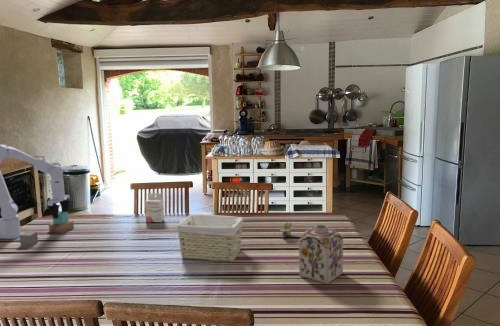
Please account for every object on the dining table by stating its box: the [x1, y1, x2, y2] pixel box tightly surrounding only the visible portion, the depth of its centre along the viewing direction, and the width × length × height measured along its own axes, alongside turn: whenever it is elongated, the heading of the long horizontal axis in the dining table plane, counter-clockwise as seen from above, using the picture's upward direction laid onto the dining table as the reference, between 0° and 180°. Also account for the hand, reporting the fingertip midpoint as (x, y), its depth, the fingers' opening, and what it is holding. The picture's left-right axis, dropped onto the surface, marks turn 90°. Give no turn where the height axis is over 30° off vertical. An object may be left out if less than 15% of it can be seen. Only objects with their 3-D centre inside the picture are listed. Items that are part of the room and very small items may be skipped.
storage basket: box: [176, 214, 244, 263], centre depth 168 cm, size 24×16×15 cm
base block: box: [48, 220, 75, 234], centre depth 207 cm, size 8×8×4 cm
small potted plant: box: [279, 221, 294, 240], centre depth 189 cm, size 12×18×7 cm, turn 158°
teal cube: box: [52, 210, 69, 224], centre depth 206 cm, size 5×5×5 cm
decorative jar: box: [298, 224, 344, 285], centre depth 146 cm, size 12×12×18 cm
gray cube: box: [19, 231, 39, 247], centre depth 187 cm, size 5×5×5 cm
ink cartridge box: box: [144, 192, 165, 224], centre depth 216 cm, size 9×5×15 cm, turn 84°
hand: (60, 216), depth 206 cm, fingers open, 7 cm apart
